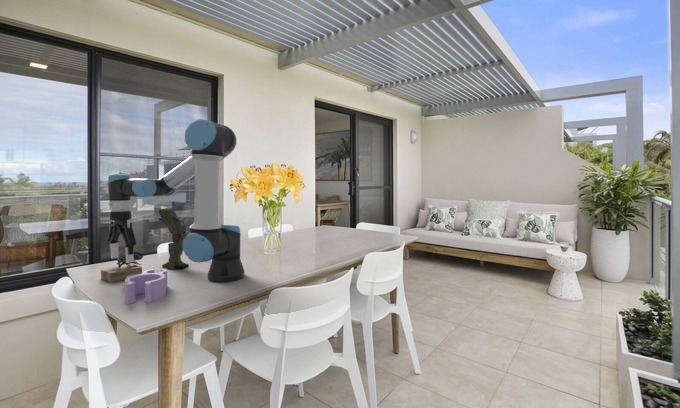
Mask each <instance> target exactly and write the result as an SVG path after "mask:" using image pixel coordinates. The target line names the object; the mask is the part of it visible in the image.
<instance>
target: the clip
mask: <svg viewBox="0 0 680 408" xmlns="http://www.w3.org/2000/svg"><path fill="white" fill-rule="evenodd" d="M167 288H168V269H166V268H161V269H160V272H155V268H152V269H151V268H150V269H147V270H142V274H139V275H135V276H132V277H129V278H127V279H125V280H124V305H131V304H133V303H136V295H139V294H144V302H145V303H146V304H152V302H153V301H156V299H157V300H159V298H160V299H162V298H164V297H165V296H166V295H167V294H166V293H167V291H166V290H167ZM163 296H164V297H163ZM161 297H162V298H161Z"/></svg>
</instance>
